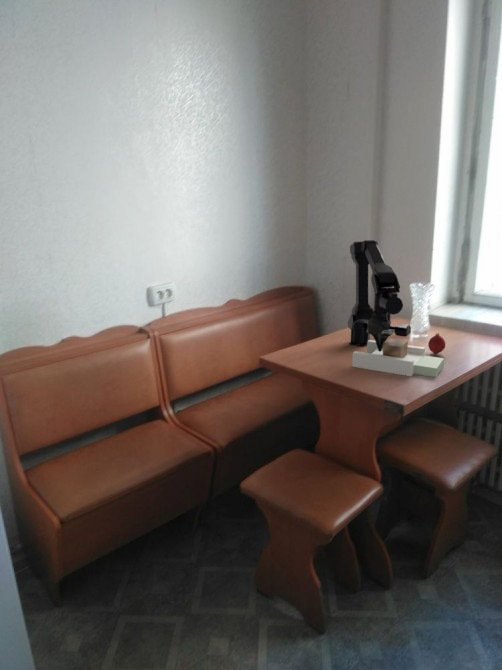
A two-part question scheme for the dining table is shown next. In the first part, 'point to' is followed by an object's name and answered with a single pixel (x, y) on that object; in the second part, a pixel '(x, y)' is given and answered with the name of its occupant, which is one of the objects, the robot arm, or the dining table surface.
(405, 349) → the block
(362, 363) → the track
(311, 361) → the dining table surface
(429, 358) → the pad
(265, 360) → the dining table surface
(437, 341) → the onion
